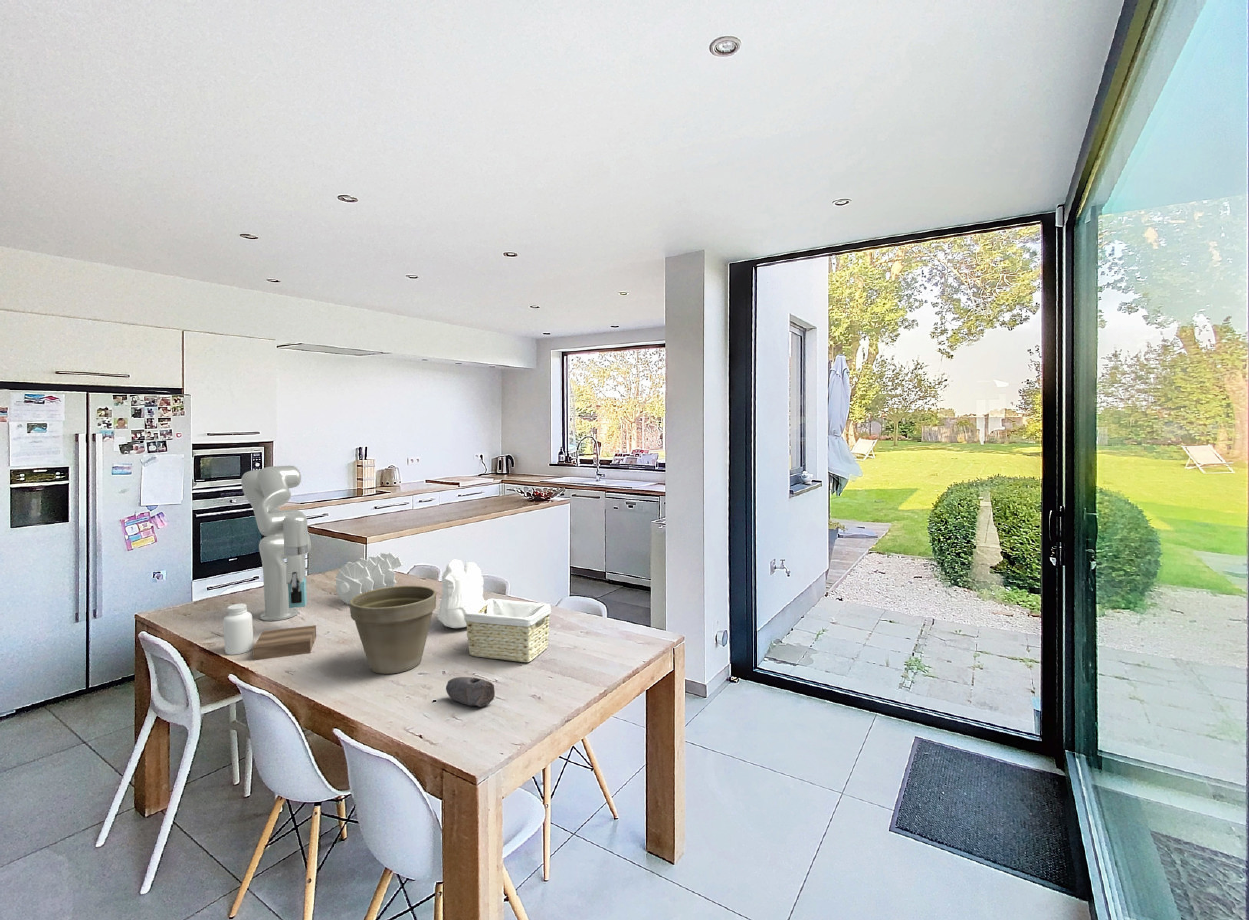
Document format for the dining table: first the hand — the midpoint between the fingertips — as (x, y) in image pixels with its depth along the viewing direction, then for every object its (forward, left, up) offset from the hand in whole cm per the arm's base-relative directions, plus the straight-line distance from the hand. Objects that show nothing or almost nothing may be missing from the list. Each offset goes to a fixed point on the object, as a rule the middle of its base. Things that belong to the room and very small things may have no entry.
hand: (297, 599), depth 213 cm
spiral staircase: (-34, +21, -12) cm, 42 cm away
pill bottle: (+13, -16, -12) cm, 23 cm away
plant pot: (+44, +32, -12) cm, 56 cm away
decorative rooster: (+13, +57, -12) cm, 60 cm away
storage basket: (+47, +67, -12) cm, 82 cm away
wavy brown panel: (+16, -2, -12) cm, 20 cm away
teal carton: (0, 0, -2) cm, 2 cm away
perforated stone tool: (+78, +50, -12) cm, 93 cm away
